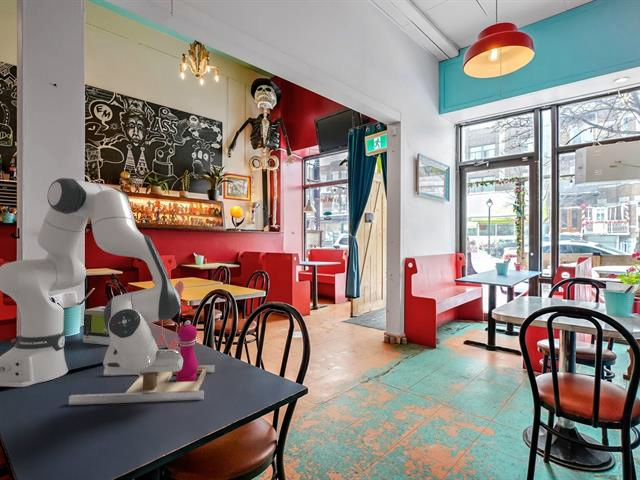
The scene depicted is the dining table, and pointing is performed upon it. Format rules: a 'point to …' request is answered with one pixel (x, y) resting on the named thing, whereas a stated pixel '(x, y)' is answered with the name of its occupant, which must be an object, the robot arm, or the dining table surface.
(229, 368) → the dining table surface
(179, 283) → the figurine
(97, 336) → the tea box
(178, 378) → the pepper mill
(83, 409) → the dining table surface
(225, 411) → the dining table surface
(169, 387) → the beige piece
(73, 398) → the runner track
